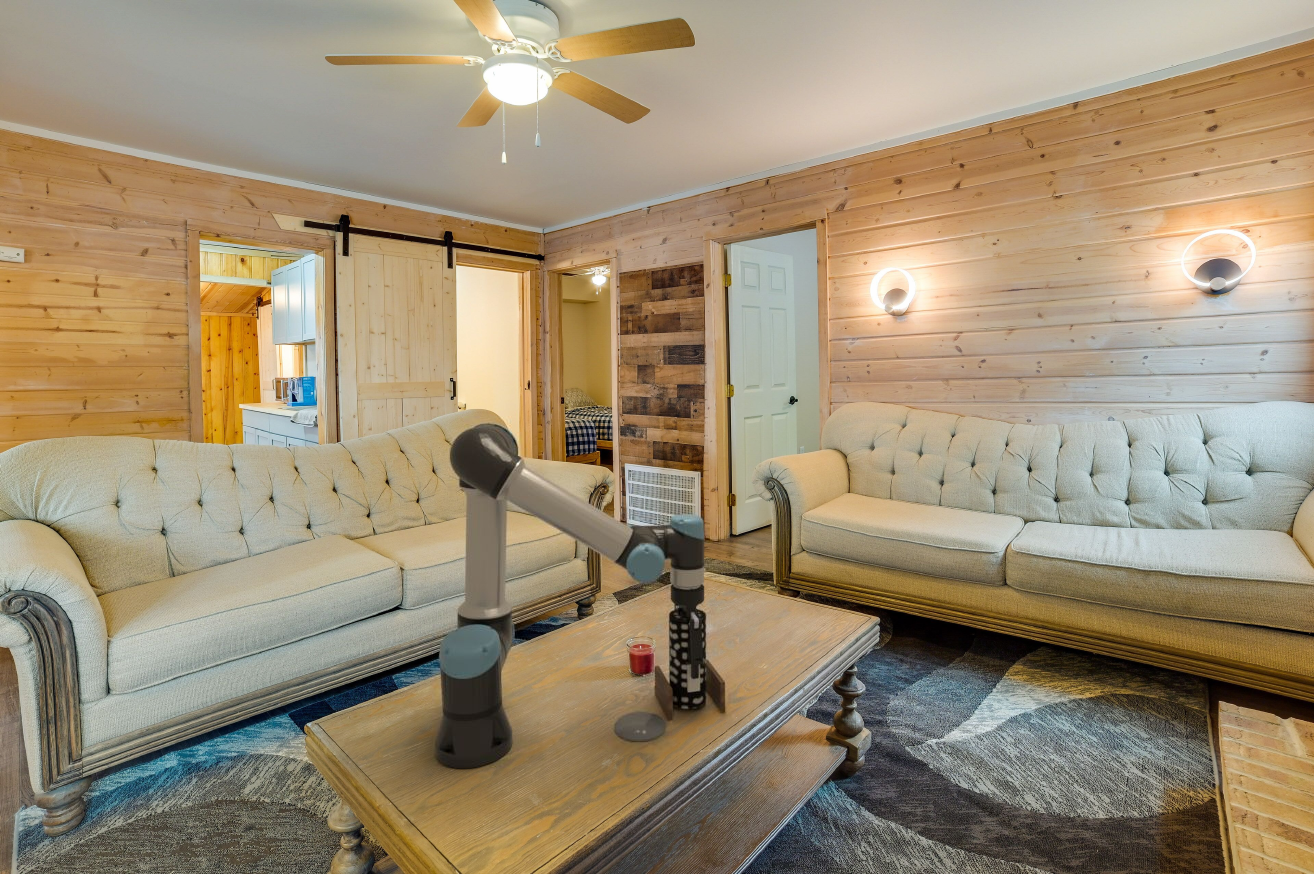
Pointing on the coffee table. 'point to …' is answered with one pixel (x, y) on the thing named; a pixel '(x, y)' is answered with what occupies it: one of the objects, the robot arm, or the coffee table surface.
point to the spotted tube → (684, 662)
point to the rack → (713, 688)
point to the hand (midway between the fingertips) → (687, 681)
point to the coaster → (640, 726)
